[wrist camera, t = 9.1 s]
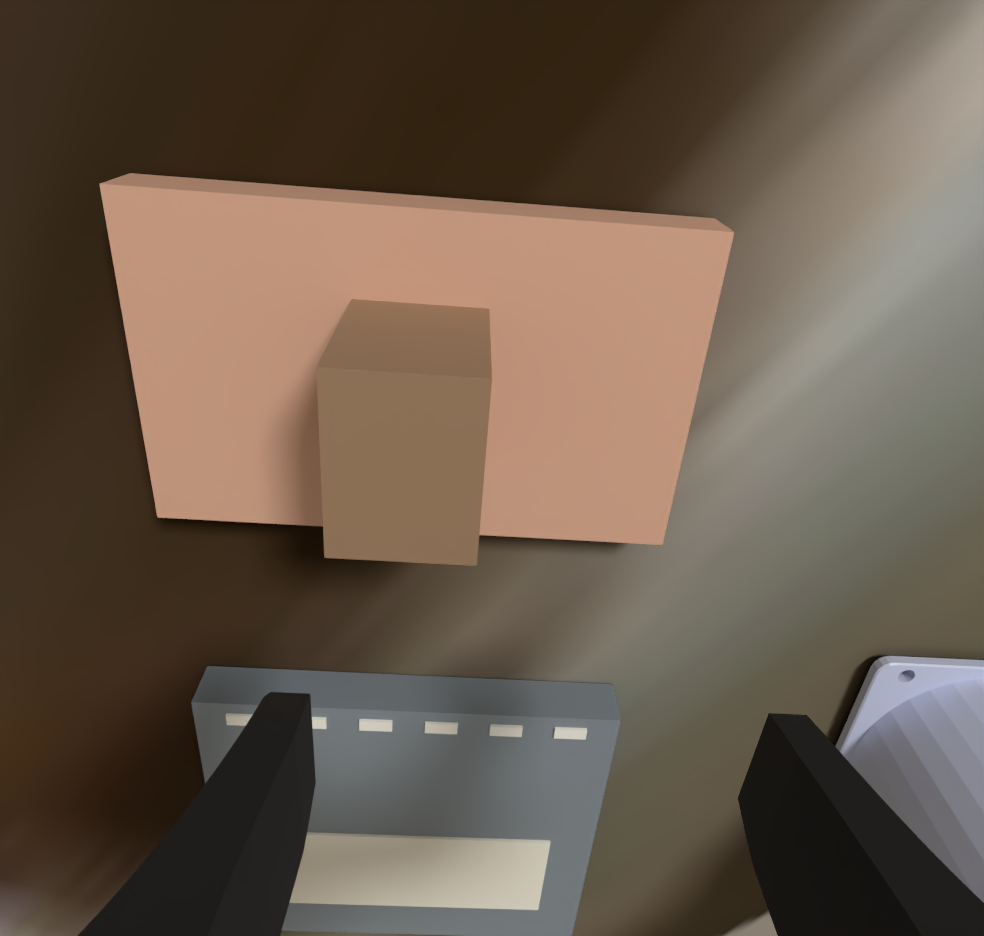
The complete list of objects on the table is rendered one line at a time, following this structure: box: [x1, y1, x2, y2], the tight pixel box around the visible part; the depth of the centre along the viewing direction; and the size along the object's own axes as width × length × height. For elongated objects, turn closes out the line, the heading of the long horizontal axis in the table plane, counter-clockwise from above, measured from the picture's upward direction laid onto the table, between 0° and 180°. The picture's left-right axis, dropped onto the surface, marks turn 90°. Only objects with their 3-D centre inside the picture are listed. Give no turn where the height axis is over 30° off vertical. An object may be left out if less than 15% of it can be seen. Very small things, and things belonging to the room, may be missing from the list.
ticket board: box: [191, 666, 621, 936], centre depth 26 cm, size 13×12×2 cm
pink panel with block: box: [100, 173, 734, 566], centre depth 16 cm, size 13×8×6 cm, turn 86°
